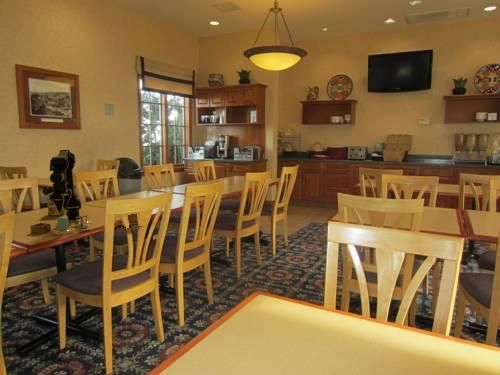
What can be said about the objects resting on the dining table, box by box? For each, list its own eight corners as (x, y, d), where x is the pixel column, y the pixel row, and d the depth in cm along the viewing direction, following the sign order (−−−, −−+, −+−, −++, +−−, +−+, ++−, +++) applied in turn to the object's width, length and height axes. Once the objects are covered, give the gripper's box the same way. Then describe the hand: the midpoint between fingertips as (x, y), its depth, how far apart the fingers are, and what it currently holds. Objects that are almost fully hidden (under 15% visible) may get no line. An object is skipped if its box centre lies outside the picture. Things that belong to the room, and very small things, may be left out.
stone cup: (140, 221, 225) (139, 197, 222) (143, 226, 214) (142, 200, 212) (113, 223, 219) (112, 198, 216) (115, 228, 208) (114, 202, 206)
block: (68, 229, 202) (67, 216, 201) (66, 231, 198) (65, 218, 197) (60, 229, 202) (59, 216, 201) (58, 231, 198) (57, 218, 197)
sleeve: (41, 229, 204) (40, 222, 204) (50, 230, 202) (50, 223, 202) (31, 232, 198) (30, 225, 197) (40, 234, 196) (40, 226, 195)
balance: (70, 226, 212) (69, 213, 211) (78, 224, 216) (77, 211, 215) (85, 230, 203) (84, 216, 202) (93, 228, 208) (93, 215, 206)
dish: (68, 228, 208) (68, 226, 208) (79, 231, 202) (79, 229, 201) (48, 232, 199) (48, 230, 199) (59, 236, 193) (59, 234, 192)
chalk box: (48, 216, 237) (46, 193, 235) (51, 213, 246) (50, 190, 243) (64, 215, 239) (62, 192, 237) (67, 212, 248) (65, 190, 246)
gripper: (49, 179, 204) (51, 207, 206) (37, 183, 185) (39, 214, 188) (71, 178, 206) (73, 206, 208) (61, 183, 188) (63, 213, 190)
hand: (62, 210), depth 198 cm, fingers open, 9 cm apart
